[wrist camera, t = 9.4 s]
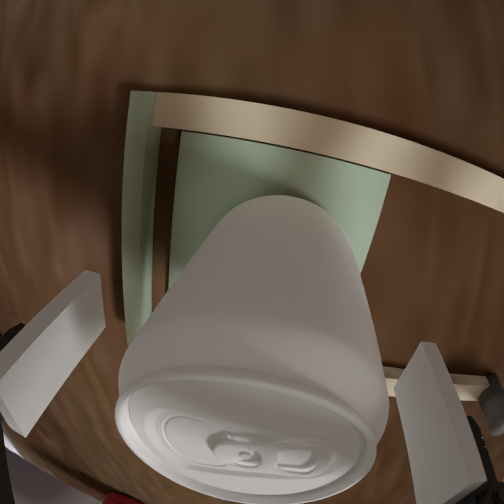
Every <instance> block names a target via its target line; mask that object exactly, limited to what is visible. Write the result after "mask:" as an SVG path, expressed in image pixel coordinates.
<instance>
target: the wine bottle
mask: <svg viewBox="0 0 504 504" xmlns="http://www.w3.org/2000/svg"><path fill="white" fill-rule="evenodd" d="M103 504H143V503H142V502H140V501H138V500H136V499H134V498H131V497H129V496H126V495H124V494H120V493H116V492H111V493H109V494H108V495H107V496H106V498H105V500H104V502H103Z"/></svg>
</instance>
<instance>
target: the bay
mask: <svg viewBox="0 0 504 504" xmlns="http://www.w3.org/2000/svg"><path fill="white" fill-rule="evenodd" d="M162 127H166V128H175V129H184V130H191V131H199V132H206V133H213V134H220V135H226V136H232V137H239V138H244V139H250V140H256V141H261V142H266V143H272V144H277V145H282V146H287V147H291V148H296V149H301V150H305V151H310V152H314V153H318V154H323V155H327V156H331V157H335V158H339V159H343V160H347V161H351V162H355V163H358V164H362V165H366V166H369V167H373V168H377V169H380V170H383V171H387V172H390V173H394V174H397V175H400V176H403V177H407V178H410V179H413V180H416V181H419V182H422V183H425V184H428V185H431V186H434V187H437V188H440V189H443V190H446V191H449V192H451V193H454V194H457V195H460V196H462V197H465V198H468V199H470V200H473V201H476V202H478V203H481V204H483V205H486V206H488V207H491V208H493V209H496V210H498V211H500V212H503V213H504V179H503V178H501V177H499V176H497V175H495V174H493V173H490V172H488V171H486V170H484V169H481V168H479V167H477V166H475V165H472V164H470V163H468V162H465V161H463V160H460V159H458V158H455V157H453V156H450V155H448V154H445V153H443V152H440V151H437V150H435V149H432V148H429V147H426V146H423V145H421V144H418V143H415V142H412V141H409V140H406V139H403V138H400V137H397V136H394V135H391V134H387V133H384V132H381V131H377V130H374V129H371V128H367V127H364V126H360V125H356V124H353V123H349V122H345V121H341V120H337V119H333V118H329V117H325V116H321V115H316V114H312V113H307V112H302V111H298V110H293V109H288V108H282V107H277V106H272V105H266V104H260V103H254V102H247V101H241V100H234V99H226V98H218V97H210V96H201V95H190V94H179V93H165V92H150V91H131V93H130V101H129V110H128V119H127V128H126V139H125V152H124V167H123V187H122V276H123V296H124V311H125V324H126V335H127V345H128V346H130V344H131V343H132V341H133V340H134V338H135V337H136V335H137V334H138V332H139V331H140V329H141V328H142V327H143V325H144V324H145V322H146V321H147V319H148V318H149V317H150V315H151V314H152V251H153V226H154V208H155V192H156V179H157V168H158V157H159V147H160V138H161V129H162ZM390 177H391V174H389V173H385V172H382V171H379V170H375V169H371V168H368V167H364V166H361V165H357V164H353V163H349V162H345V161H341V160H337V159H333V158H329V157H325V156H321V155H317V154H312V153H308V152H303V151H299V150H294V149H289V148H285V147H280V146H275V145H270V144H264V143H259V142H253V141H248V140H242V139H236V138H230V137H224V136H217V135H211V134H204V133H196V132H189V131H182V132H181V140H180V148H179V156H178V165H177V175H176V185H175V195H174V206H173V219H172V232H171V248H170V265H169V288H168V290H169V289H170V287H171V286H172V284H173V283H174V282H175V280H176V279H177V277H178V276H179V275H180V273H181V272H182V271H183V269H184V268H185V267H186V265H187V264H188V262H189V261H190V260H191V258H192V257H193V256H194V254H195V253H196V252H197V250H198V249H199V248H200V246H201V245H202V244H203V242H204V241H205V240H206V238H207V237H208V236H209V234H210V233H211V232H212V230H213V229H214V228H215V226H216V225H217V224H218V223H219V221H220V220H221V219H222V218H223V217H224V216H225V215H226V214H227V213H228V212H229V211H231V210H232V209H233V208H235V207H236V206H238V205H240V204H242V203H244V202H246V201H248V200H251V199H254V198H258V197H262V196H270V195H285V196H292V197H297V198H301V199H304V200H307V201H309V202H312V203H314V204H316V205H318V206H319V207H321V208H322V209H324V210H325V211H327V212H328V213H329V214H330V215H332V216H333V217H334V218H335V219H336V220H337V221H338V223H339V224H340V225H341V226H342V228H343V229H344V231H345V232H346V234H347V236H348V238H349V240H350V243H351V246H352V249H353V252H354V256H355V259H356V262H357V266H358V269H359V273H361V271H362V268H363V265H364V262H365V259H366V256H367V253H368V250H369V247H370V244H371V241H372V238H373V235H374V232H375V229H376V225H377V222H378V219H379V216H380V212H381V209H382V206H383V202H384V199H385V195H386V192H387V188H388V184H389V181H390ZM404 370H405V369H401V368H393V367H385V366H383V371H384V376H385V381H386V386H387V391H388V396H394V397H396V396H395V392H394V388H393V387H394V386H395V384H396V383H397V381H398V379H399V378H400V376H401V375H402V373H403V371H404ZM450 377H451V379H452V381H453V384H454V386H455V389H456V391H457V394H458V396H459V399H460V400H472V401H479V403H480V406H481V408H482V411H483V413H484V416H485V418H486V421H487V424H488V427H489V429H490V432H491V435H492V436H497V435H500V434H502V433H504V389H503V385H502V383H501V381H500V379H499V377H497V375H495V374H489V375H486V376H476V375H461V374H450Z"/></svg>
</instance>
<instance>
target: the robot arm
mask: <svg viewBox="0 0 504 504" xmlns="http://www.w3.org/2000/svg"><path fill="white" fill-rule="evenodd" d="M105 327H106V325H105V317H104V309H103V299H102V289H101V277H100V274H98V273H94V272H91V271H87V270H85V271H83V272H82V273H81V274H80V275H79V276H78V277H77V278H76V279H74V280H73V281H72V282H71V283H70V284H69V285H68V286H67V287H66V288H65V289H63V290H62V291H61V292H60V293H59V294H58V295H57V296H56V297H55V298H54V299H53V300H52V301H51V302H49V303H48V304H47V305H46V306H45V307H44V308H43V309H42V310H41V311H40V312H39V313H38V314H37V315H36V316H35V317H34V318H33V319H32V320H31V321H30V322H29V323H28V324H27V325H25V324H23V323H20V324H18V325H16V326H14V327H12V328H10V329H9V330H8V331H7V332H6V333H5V334H4V335H3V336H2V337H1V336H0V504H15V501H14V497H13V493H12V487H11V483H10V478H9V472H8V466H7V460H6V453H5V445H4V437H3V429H2V425H1V422H2V420H3V419H5V421H6V422H7V424H8V425H9V427H10V428H11V429H13V430H14V431H16V432H18V433H19V434H21V435H22V436H24V437H25V438H26V437H27V435H28V434H29V432H30V431H31V429H32V428H33V426H34V425H35V423H36V422H37V420H38V419H39V417H40V416H41V415H42V413H43V412H44V410H45V409H46V407H47V406H48V404H49V403H50V402H51V400H52V399H53V397H54V396H55V394H56V393H57V392H58V390H59V389H60V387H61V386H62V385H63V383H64V382H65V380H66V379H67V378H68V376H69V375H70V373H71V372H72V371H73V369H74V368H75V367H76V365H77V364H78V363H79V361H80V360H81V359H82V357H83V356H84V355H85V353H86V352H87V351H88V349H89V348H90V347H91V345H92V344H93V343H94V341H95V340H96V339H97V337H98V336H99V335H100V334H101V332H102V331H103V330H104V328H105ZM393 388H394V392H395V396H396V400H397V404H398V408H399V412H400V417H401V421H402V426H403V431H404V435H405V440H406V445H407V450H408V455H409V461H410V466H411V472H412V478H413V484H414V490H415V497H416V504H504V482H501V481H500V482H498V481H497V479H496V476H495V472H494V469H493V466H492V463H491V460H490V457H489V454H488V451H487V448H485V447H486V445H485V442H484V439H482V438H483V436H482V433H481V431H480V428H479V426H478V424H477V423H476V422H475V420H474V419H473V418H472V416H466V414H465V412H464V409H463V406H462V404H461V401H460V399H459V396H458V394H457V391H456V389H455V386H454V384H453V381H452V379H451V377H450V374H449V372H448V370H447V367H446V365H445V363H444V361H443V358H442V356H441V354H440V352H439V350H438V347H437V345H436V343H428V342H420V344H419V346H418V348H417V349H416V351H415V353H414V355H413V356H412V358H411V360H410V361H409V363H408V365H407V366H406V368H405V370H404V371H403V373H402V375H401V376H400V378H399V379H398V381H397V383H396V384H395V386H394V387H393Z"/></svg>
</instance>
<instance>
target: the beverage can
mask: <svg viewBox="0 0 504 504" xmlns="http://www.w3.org/2000/svg"><path fill="white" fill-rule="evenodd" d="M118 386H119V395H120V396H119V398H118V400H117V403H116V406H115V421H116V425H117V428H118V430H119V432H120V434H121V436H122V438H123V439H124V441H125V442H126V444H127V445H128V446H129V447H130V449H131V450H132V451H133V452H134V453H135V454H136V455H137V456H138V457H139V458H140V459H141V460H143V461H144V462H145V463H146V464H147V465H149V466H150V467H151V468H153V469H154V470H156V471H157V472H159V473H160V474H162V475H164V476H165V477H167V478H169V479H171V480H172V481H174V482H176V483H178V484H180V485H183V486H185V487H187V488H190V489H192V490H195V491H197V492H200V493H203V494H206V495H209V496H213V497H216V498H220V499H224V500H229V501H234V502H240V503H248V504H299V503H305V502H311V501H315V500H320V499H323V498H327V497H330V496H332V495H335V494H338V493H340V492H342V491H344V490H346V489H348V488H350V487H351V486H353V485H354V484H356V483H357V482H359V481H360V480H361V479H362V478H363V477H364V476H365V475H366V474H367V473H368V472H369V470H370V469H371V467H372V466H373V463H374V461H375V458H376V445H377V444H378V442H379V440H380V439H381V437H382V435H383V432H384V430H385V427H386V424H387V420H388V414H389V397H388V391H387V386H386V381H385V376H384V371H383V366H382V361H381V357H380V352H379V348H378V343H377V339H376V334H375V330H374V326H373V322H372V318H371V314H370V310H369V306H368V302H367V298H366V295H365V291H364V287H363V284H362V280H361V276H360V273H359V269H358V266H357V262H356V259H355V256H354V252H353V249H352V246H351V243H350V240H349V238H348V236H347V234H346V232H345V231H344V229H343V228H342V226H341V225H340V224H339V223H338V221H337V220H336V219H335V218H334V217H333V216H332V215H330V214H329V213H328V212H327V211H325V210H324V209H322V208H321V207H319V206H318V205H316V204H314V203H312V202H309V201H307V200H304V199H301V198H297V197H292V196H285V195H270V196H262V197H258V198H254V199H251V200H248V201H246V202H244V203H242V204H240V205H238V206H236V207H235V208H233V209H232V210H231V211H229V212H228V213H227V214H226V215H225V216H224V217H223V218H222V219H221V220H220V221H219V223H218V224H217V225H216V226H215V228H214V229H213V230H212V232H211V233H210V234H209V236H208V237H207V238H206V240H205V241H204V242H203V244H202V245H201V246H200V248H199V249H198V250H197V252H196V253H195V254H194V256H193V257H192V258H191V260H190V261H189V262H188V264H187V265H186V267H185V268H184V269H183V271H182V272H181V273H180V275H179V276H178V277H177V279H176V280H175V282H174V283H173V284H172V286H171V287H170V289H169V290H168V291H167V293H166V294H165V295H164V297H163V298H162V300H161V301H160V302H159V304H158V305H157V307H156V308H155V310H154V311H153V312H152V314H151V315H150V317H149V318H148V319H147V321H146V322H145V324H144V325H143V327H142V328H141V329H140V331H139V332H138V334H137V335H136V337H135V338H134V340H133V341H132V343H131V344H130V346H129V347H128V349H127V350H126V352H125V354H124V357H123V359H122V362H121V366H120V370H119V379H118Z"/></svg>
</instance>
